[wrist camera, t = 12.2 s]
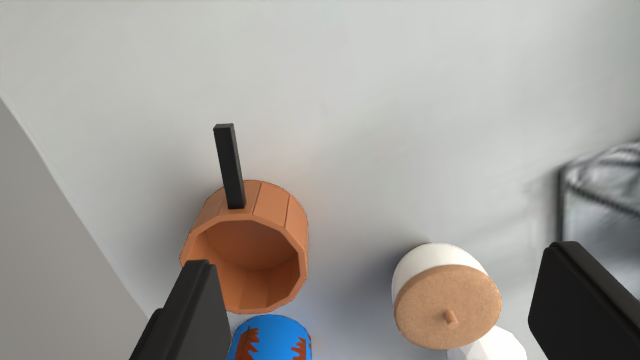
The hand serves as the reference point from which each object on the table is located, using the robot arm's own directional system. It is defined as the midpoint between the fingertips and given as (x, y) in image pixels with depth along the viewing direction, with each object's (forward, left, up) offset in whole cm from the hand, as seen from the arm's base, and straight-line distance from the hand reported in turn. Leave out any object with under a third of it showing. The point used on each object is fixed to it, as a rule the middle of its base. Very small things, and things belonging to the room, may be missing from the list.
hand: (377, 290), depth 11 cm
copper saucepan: (+12, -10, -28) cm, 32 cm away
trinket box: (+22, +10, -28) cm, 37 cm away
